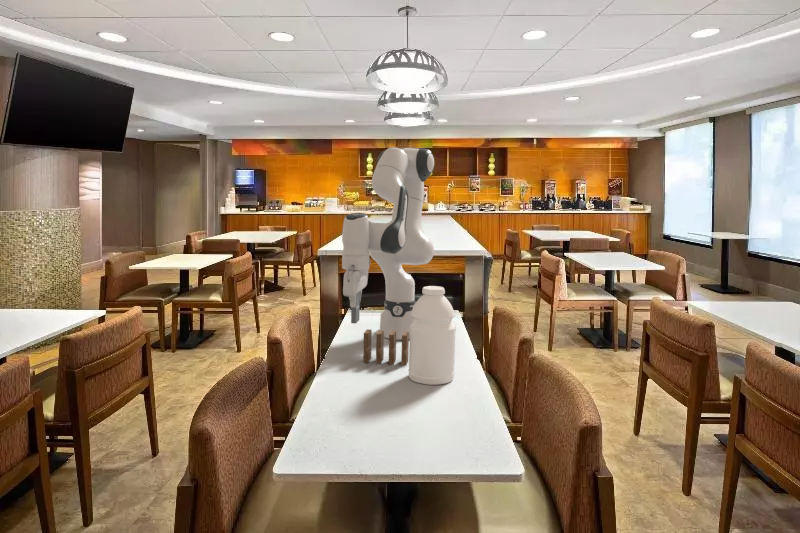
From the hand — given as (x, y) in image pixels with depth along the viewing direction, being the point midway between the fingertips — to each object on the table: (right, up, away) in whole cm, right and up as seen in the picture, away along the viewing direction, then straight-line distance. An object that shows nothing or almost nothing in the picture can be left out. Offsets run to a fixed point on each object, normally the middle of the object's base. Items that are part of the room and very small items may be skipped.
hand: (355, 304), depth 193 cm
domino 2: (+8, -19, +1) cm, 21 cm away
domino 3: (+12, -19, +1) cm, 23 cm away
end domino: (0, -6, +1) cm, 6 cm away
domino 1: (+4, -19, +2) cm, 19 cm away
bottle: (+24, -22, -14) cm, 35 cm away
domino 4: (+16, -19, 0) cm, 25 cm away
